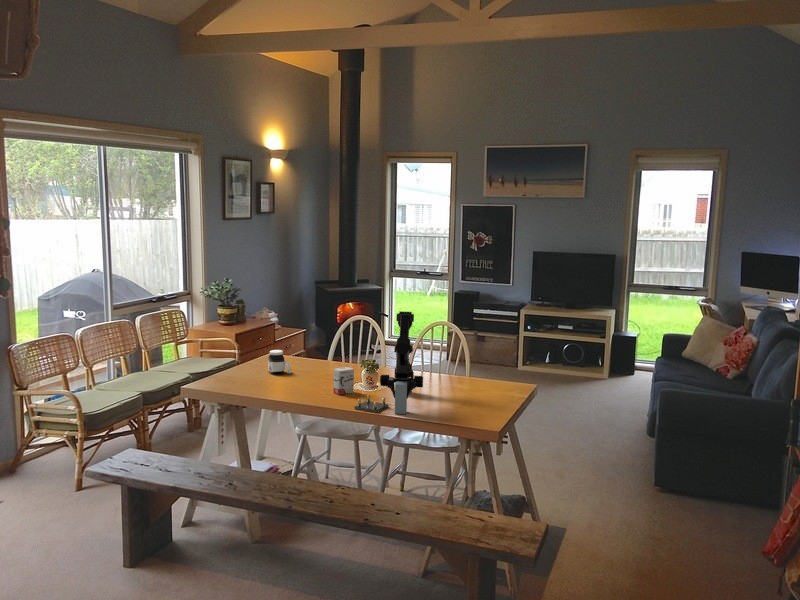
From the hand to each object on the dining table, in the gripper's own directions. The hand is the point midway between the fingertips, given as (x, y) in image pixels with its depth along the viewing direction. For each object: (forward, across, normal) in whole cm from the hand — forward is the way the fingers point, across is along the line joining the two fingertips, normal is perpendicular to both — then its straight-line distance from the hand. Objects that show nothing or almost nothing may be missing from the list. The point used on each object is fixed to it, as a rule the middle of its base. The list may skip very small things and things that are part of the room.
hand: (400, 398), depth 300 cm
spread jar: (-40, -66, +51) cm, 92 cm away
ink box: (-16, -28, +26) cm, 42 cm away
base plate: (0, -13, +10) cm, 16 cm away
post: (+4, 0, +6) cm, 7 cm away
